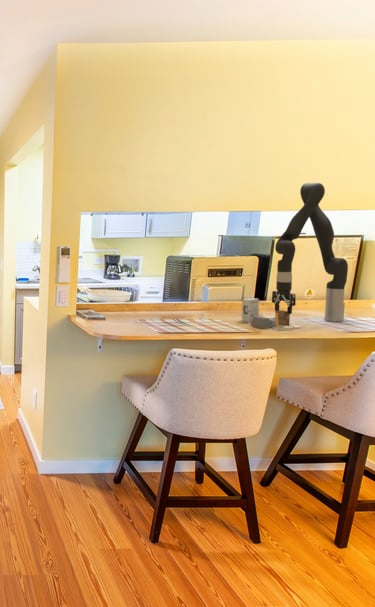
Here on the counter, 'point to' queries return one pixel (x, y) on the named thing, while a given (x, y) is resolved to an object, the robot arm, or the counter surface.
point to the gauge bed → (264, 324)
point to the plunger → (274, 322)
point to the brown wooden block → (283, 317)
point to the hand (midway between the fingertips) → (283, 312)
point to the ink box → (249, 309)
